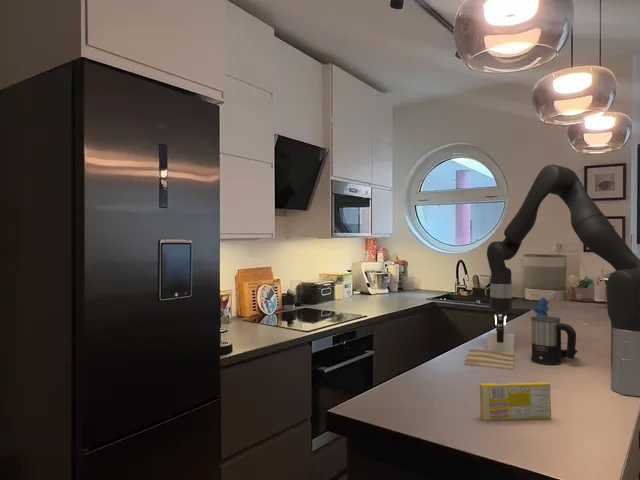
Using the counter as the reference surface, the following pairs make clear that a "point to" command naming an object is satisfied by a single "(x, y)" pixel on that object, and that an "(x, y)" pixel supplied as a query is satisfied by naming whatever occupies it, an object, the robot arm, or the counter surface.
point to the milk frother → (551, 340)
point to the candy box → (515, 401)
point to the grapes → (541, 307)
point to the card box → (501, 347)
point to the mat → (490, 359)
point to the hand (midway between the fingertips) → (500, 339)
